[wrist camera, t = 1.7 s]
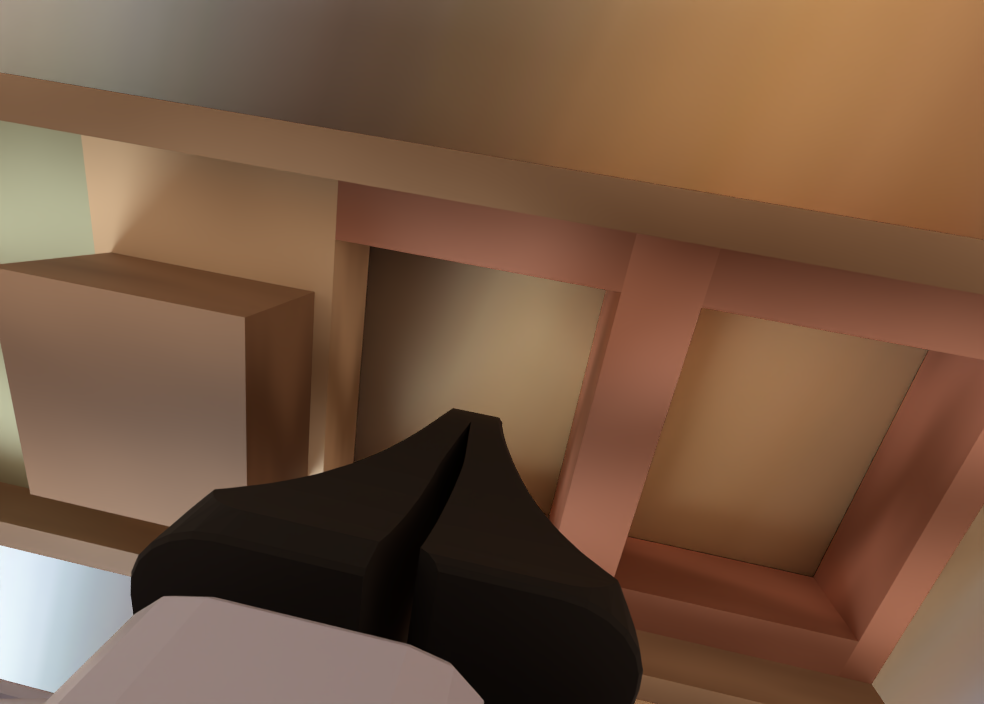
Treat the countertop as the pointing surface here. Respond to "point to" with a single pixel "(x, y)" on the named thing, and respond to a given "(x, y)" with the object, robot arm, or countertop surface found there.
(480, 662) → the robot arm
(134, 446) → the walnut block
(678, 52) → the countertop surface
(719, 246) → the box
